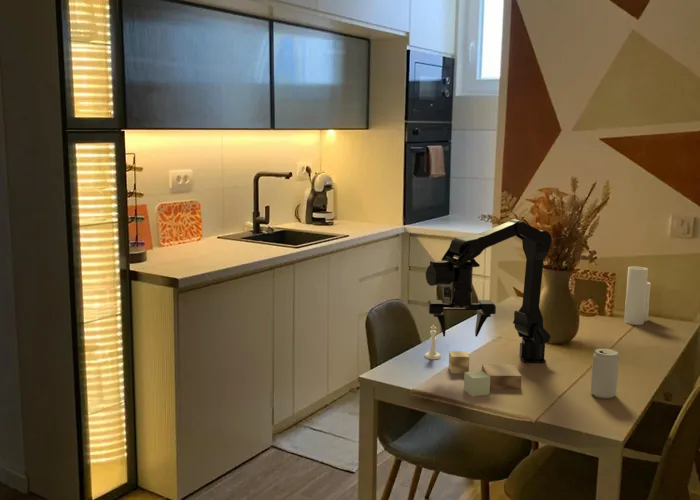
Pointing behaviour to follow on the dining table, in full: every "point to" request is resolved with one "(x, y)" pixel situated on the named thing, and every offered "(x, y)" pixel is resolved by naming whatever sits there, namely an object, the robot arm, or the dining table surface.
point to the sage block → (477, 383)
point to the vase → (637, 296)
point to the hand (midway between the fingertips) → (460, 336)
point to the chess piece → (432, 346)
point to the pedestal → (503, 376)
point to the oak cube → (458, 361)
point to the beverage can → (604, 373)
